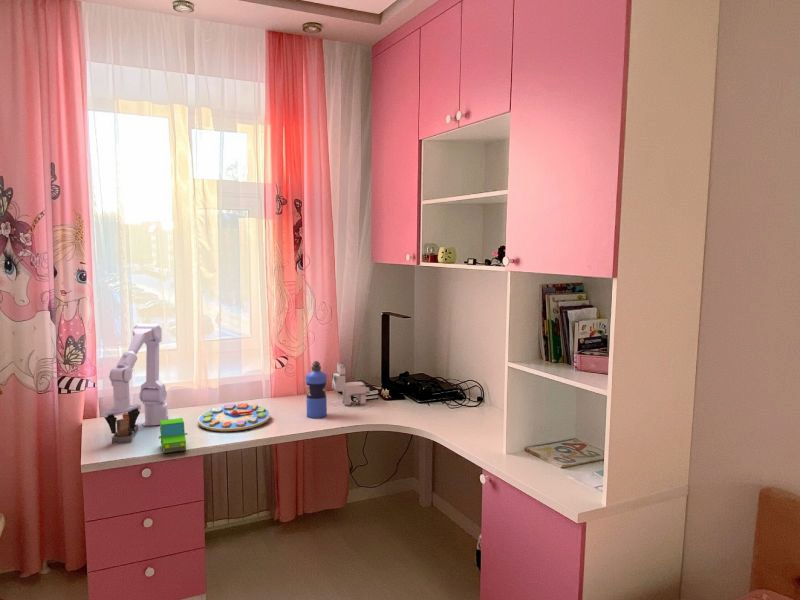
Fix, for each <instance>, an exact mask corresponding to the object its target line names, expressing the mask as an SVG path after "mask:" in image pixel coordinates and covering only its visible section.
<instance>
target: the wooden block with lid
mask: <svg viewBox="0 0 800 600" xmlns="http://www.w3.org/2000/svg"><path fill="white" fill-rule="evenodd" d="M116 432H117V437H125V436H128V420H127V419H124V418H123V417H122V418H120V419H116Z"/></svg>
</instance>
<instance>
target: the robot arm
mask: <svg viewBox="0 0 800 600" xmlns="http://www.w3.org/2000/svg"><path fill="white" fill-rule="evenodd" d="M162 334H163V330H162V327H161V326H160V324H158V323H135V325H134V326H133V328H132V336H133V337H132V340H131V342H130V344H129V347H128V349H127V351H124V352H123V353H122V355H121V357H120V359H119V360H118V363H117V364H116V366H115V367H113V368H112V369H111V370H110V372H109V376H108V377H109V380H110V382H111V387H112V388H113V389H112V390H113V408H111V409H107V410H105V411H102V417H103V418H104V419H105V421H106V422H107V425H108V426H109V429H110V432H111V434H112V435H114V434H116V432H117V424H116V420H118V418H117V417H116V415H122V414H123V413H127V412H128V415H129V424H130V429H134V427H135V424H136V422H137V420H138V417H139V415H140V414H141V412H140V410H142V408H141V404H139V403H137V404H136V403H135V404H131V403H130V400H131V399H130V381H131V379H132V377H133V370H134V369H133V368H134V366H135V364H136V362H137V360H138V356H137V354H138V353H139V351H140V350H141V348H142V346H143V345H144V344H145V346H146V356H145V357H146V361H145V363H146V365H145V366H146V367H145V369H146V371H145V372H146V374H145V375H146V377H145V382H144V383H143V384H141V385H140V391H139V394H138V397H139V400H140V402H142V404H143V406H144V422H143V424H142V426H143V427H147V426H149V427H150V426H160V420H168V419H169V405H168V402H166V401H165V400H166V399H167V390H166V384H165V383H164V382H162V381H161V380H160V343H161V342H162Z"/></svg>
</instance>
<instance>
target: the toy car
mask: <svg viewBox="0 0 800 600" xmlns="http://www.w3.org/2000/svg"><path fill="white" fill-rule="evenodd" d="M159 427H160V428H159V429H160V430H159V431H160V436H158V439H160V445H161V449H162V454H163V455H165V454H167V453H170V452H171V453H172V452H181V451H183V452H184V451H185V452H187V443H186V442H187V441H186V436H187V435H188V432H185V421H184V418H183V417H179V418H177V417H176V418H168V420H160V425H159Z"/></svg>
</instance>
